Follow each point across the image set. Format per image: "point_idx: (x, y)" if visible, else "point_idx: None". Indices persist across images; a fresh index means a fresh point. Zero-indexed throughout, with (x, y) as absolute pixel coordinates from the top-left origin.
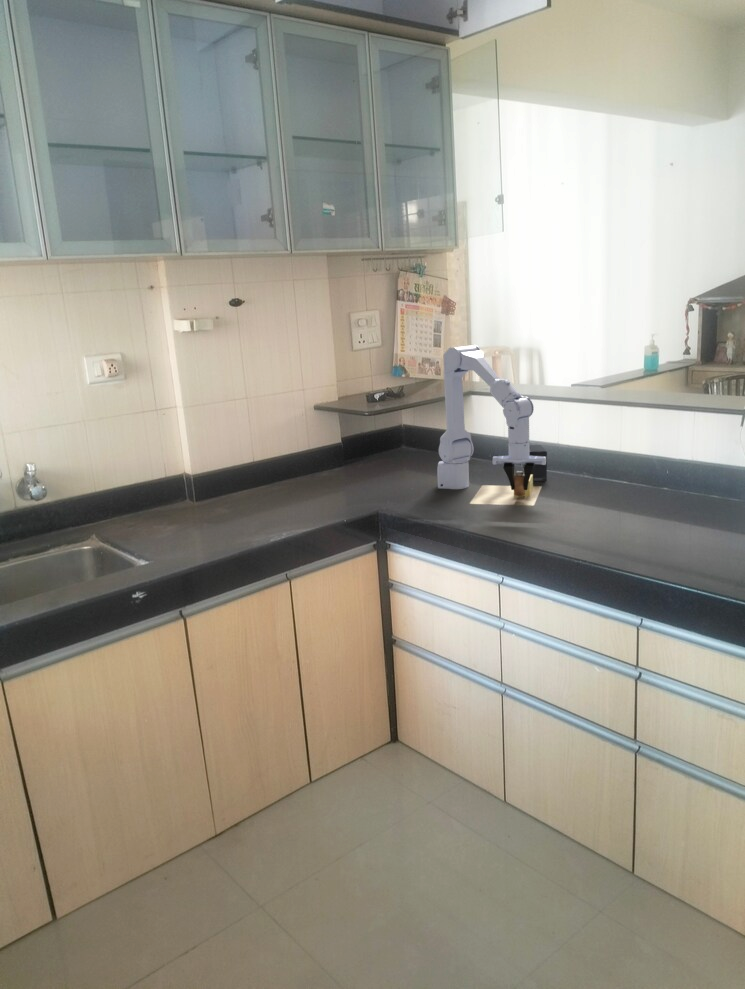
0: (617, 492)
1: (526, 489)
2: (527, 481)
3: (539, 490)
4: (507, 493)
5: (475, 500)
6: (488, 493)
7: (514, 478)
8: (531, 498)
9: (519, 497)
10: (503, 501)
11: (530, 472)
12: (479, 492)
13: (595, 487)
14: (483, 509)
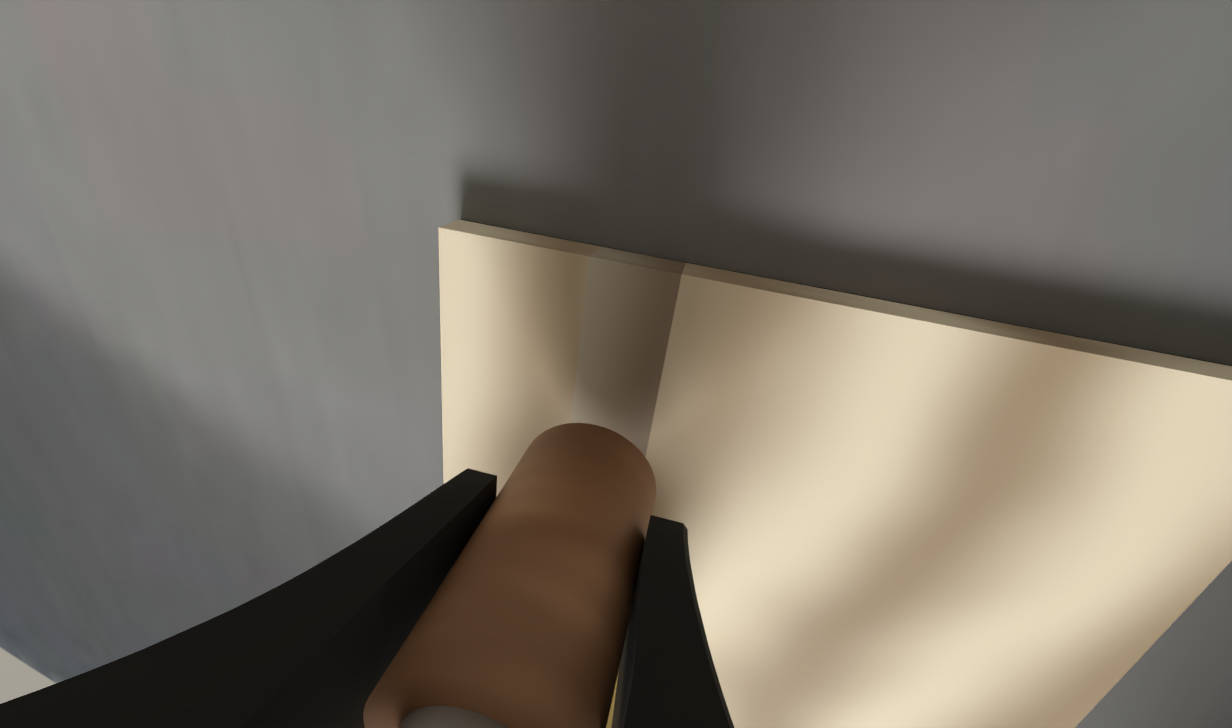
0: (28, 561)
1: (462, 472)
2: (355, 543)
3: None
4: (719, 674)
5: (1177, 542)
6: (913, 721)
7: (591, 694)
8: None
9: None
10: (798, 439)
11: (60, 689)
12: None
13: None
14: (1123, 257)
